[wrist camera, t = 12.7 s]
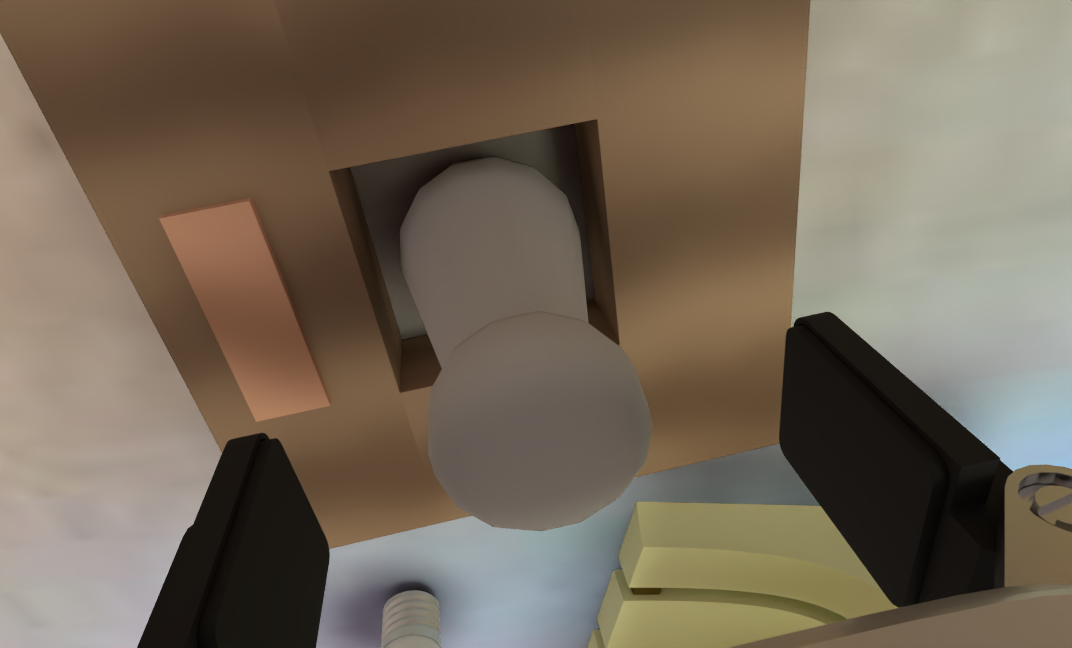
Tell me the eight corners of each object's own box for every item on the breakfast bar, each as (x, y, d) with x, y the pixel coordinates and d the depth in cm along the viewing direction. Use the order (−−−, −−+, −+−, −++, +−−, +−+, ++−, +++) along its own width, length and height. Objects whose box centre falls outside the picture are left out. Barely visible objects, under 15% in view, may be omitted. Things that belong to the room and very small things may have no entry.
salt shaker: (556, 296, 24) (675, 572, 13) (404, 297, 23) (391, 598, 12) (570, 142, 22) (737, 324, 10) (398, 136, 21) (375, 330, 9)
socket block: (39, -46, 17) (-53, -51, 14) (754, -165, 18) (829, -196, 15) (294, 494, 27) (277, 566, 24) (744, 392, 28) (787, 447, 25)
